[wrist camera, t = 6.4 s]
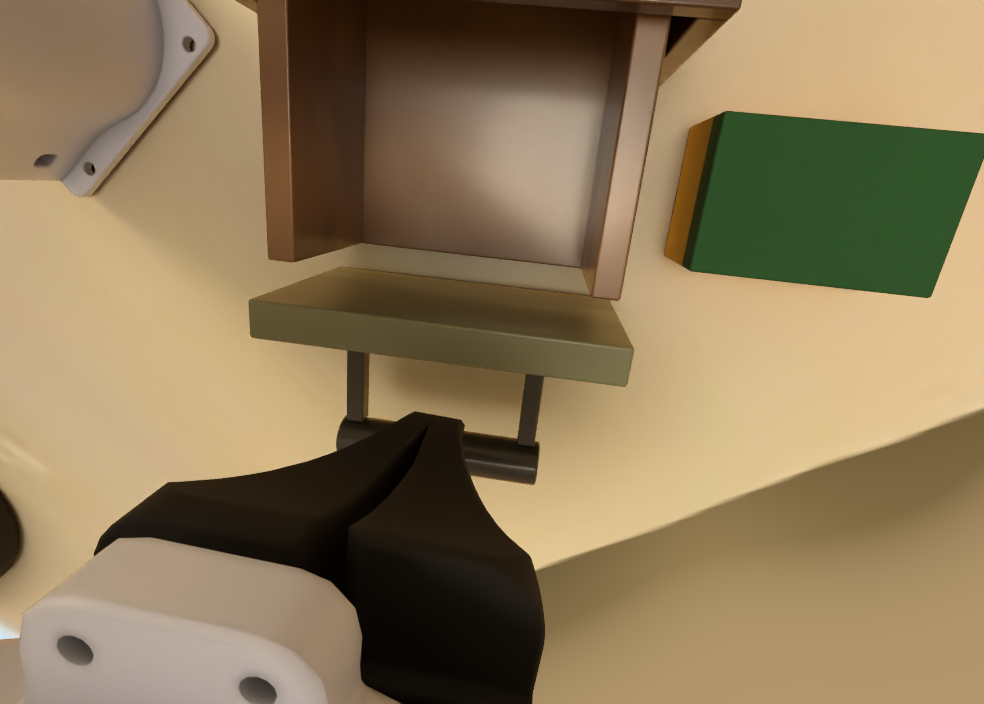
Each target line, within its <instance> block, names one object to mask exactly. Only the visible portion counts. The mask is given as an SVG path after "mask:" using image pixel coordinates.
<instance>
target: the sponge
mask: <svg viewBox="0 0 984 704" xmlns="http://www.w3.org/2000/svg"><path fill="white" fill-rule="evenodd" d="M983 159H984V134H982V133H971V132H959V131H948V130H937V129H925V128H914V127H903V126H891V125H880V124H869V123H857V122H846V121H834V120H823V119H812V118H800V117H789V116H778V115H766V114H755V113H744V112H732V111H725V112H723V113H721V114H719V115H716V116H715V117H712V118H710V119H708V120H705V121H703V122H701V123H699V124H697V125H694V126H692V127H691V128H690V132H689V137H688V142H687V146H686V151H685V156H684V161H683V166H682V171H681V176H680V181H679V186H678V190H677V195H676V200H675V205H674V210H673V215H672V220H671V225H670V230H669V234H668V239H667V244H666V249H665V256H666V257H668V258H670V259H671V260H673V261H675V262H676V263H678V264H680V265H681V266H683V267H685V268H686V269H688V270H690V271H693V272H702V273H711V274H720V275H729V276H738V277H746V278H755V279H764V280H773V281H782V282H791V283H800V284H808V285H817V286H826V287H835V288H844V289H853V290H861V291H870V292H879V293H888V294H897V295H906V296H915V297H923V298H929V297H931V295H932V293H933V290H934V288H935V285H936V282H937V280H938V277H939V274H940V272H941V269H942V267H943V264H944V261H945V259H946V256H947V253H948V251H949V248H950V246H951V243H952V240H953V238H954V235H955V233H956V230H957V227H958V225H959V222H960V219H961V217H962V214H963V212H964V209H965V206H966V204H967V201H968V198H969V196H970V193H971V191H972V188H973V185H974V183H975V180H976V177H977V175H978V172H979V170H980V167H981V164H982V162H983Z"/></svg>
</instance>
